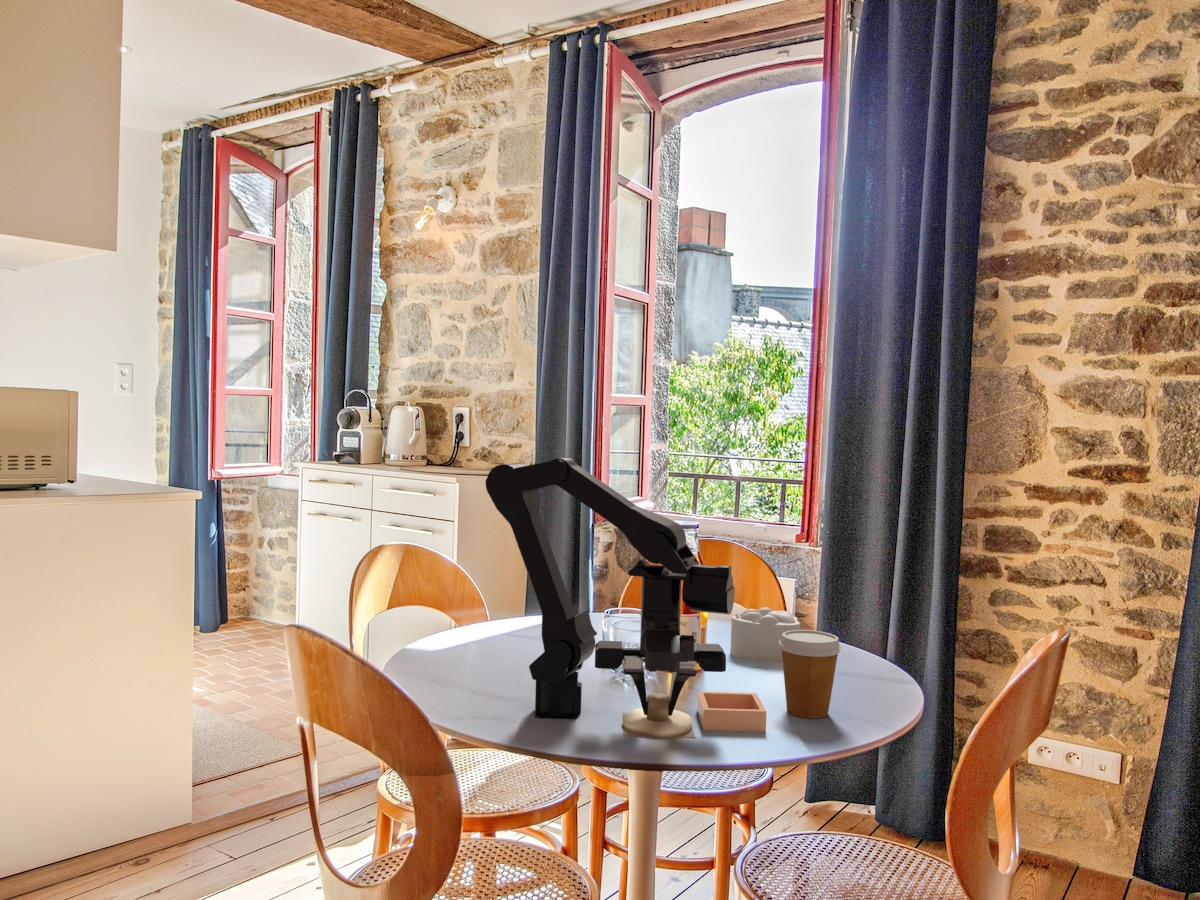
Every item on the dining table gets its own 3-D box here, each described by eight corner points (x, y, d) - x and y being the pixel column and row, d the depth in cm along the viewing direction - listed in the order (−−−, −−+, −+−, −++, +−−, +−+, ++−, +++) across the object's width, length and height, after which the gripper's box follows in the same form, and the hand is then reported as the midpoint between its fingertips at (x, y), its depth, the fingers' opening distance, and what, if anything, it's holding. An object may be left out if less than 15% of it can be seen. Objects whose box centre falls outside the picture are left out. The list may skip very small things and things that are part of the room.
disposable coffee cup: (794, 699, 151) (796, 626, 151) (849, 712, 145) (851, 636, 145) (765, 712, 144) (767, 635, 143) (821, 726, 138) (824, 646, 137)
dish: (703, 733, 133) (703, 709, 133) (696, 714, 142) (697, 691, 142) (765, 735, 133) (766, 711, 133) (755, 715, 142) (756, 693, 142)
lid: (623, 735, 130) (624, 705, 130) (622, 713, 140) (623, 685, 140) (694, 737, 130) (695, 707, 129) (688, 715, 140) (689, 687, 139)
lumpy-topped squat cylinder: (801, 664, 174) (802, 618, 174) (731, 660, 176) (732, 615, 175) (794, 650, 185) (796, 607, 184) (729, 647, 186) (730, 604, 186)
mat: (623, 739, 130) (623, 735, 130) (622, 717, 140) (622, 713, 140) (695, 741, 130) (695, 737, 130) (688, 719, 140) (688, 715, 140)
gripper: (596, 618, 126) (592, 731, 127) (732, 621, 126) (729, 735, 126) (596, 602, 137) (593, 706, 138) (722, 605, 137) (719, 709, 138)
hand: (657, 714), depth 135 cm, fingers closed on lid, 3 cm apart
